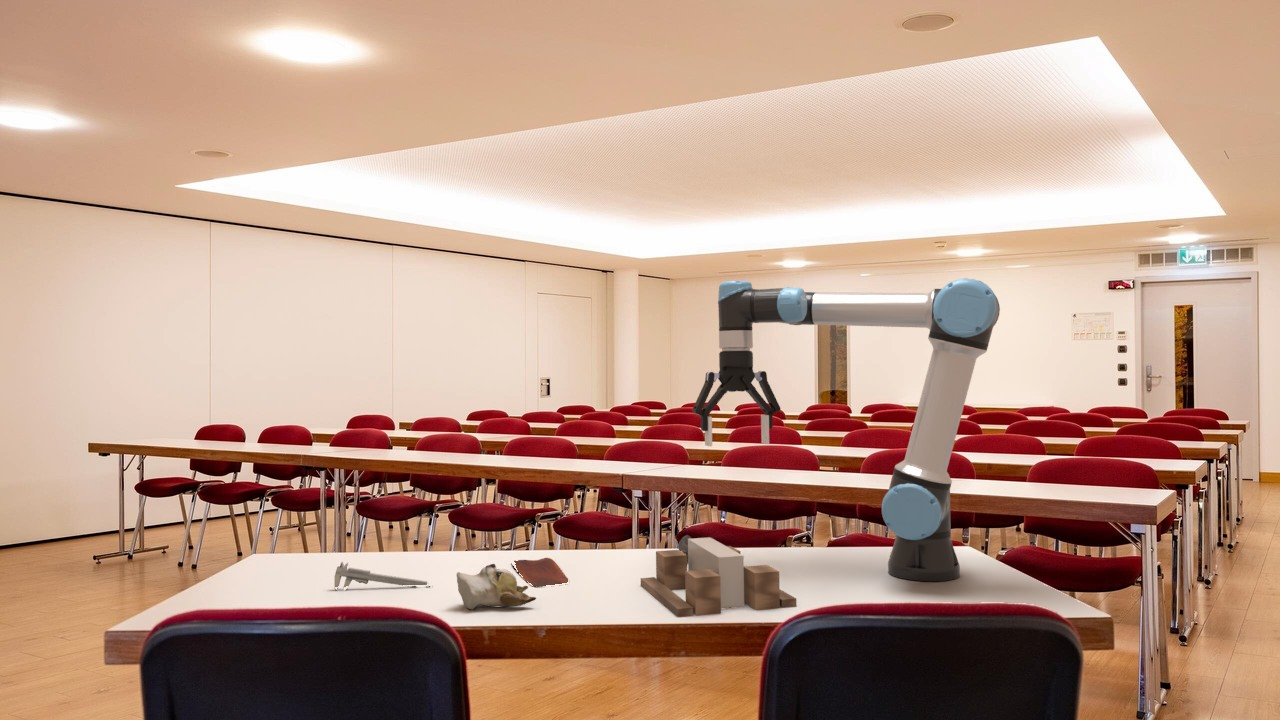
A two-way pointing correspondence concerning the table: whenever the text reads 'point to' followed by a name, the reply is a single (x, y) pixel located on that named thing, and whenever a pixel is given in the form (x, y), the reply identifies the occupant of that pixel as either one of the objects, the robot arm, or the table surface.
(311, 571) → the table surface
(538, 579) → the wooden tablet
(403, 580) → the caliper
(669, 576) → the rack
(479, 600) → the ceramic sculpture
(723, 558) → the light grey rectangular block
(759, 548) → the table surface
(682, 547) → the pottery fragment
